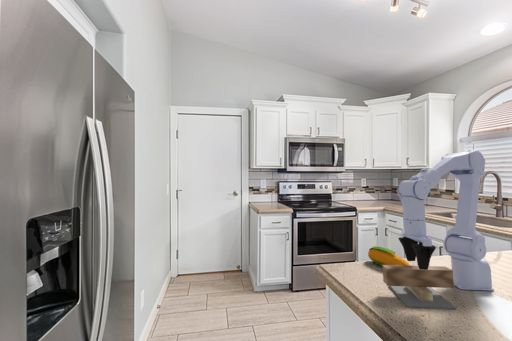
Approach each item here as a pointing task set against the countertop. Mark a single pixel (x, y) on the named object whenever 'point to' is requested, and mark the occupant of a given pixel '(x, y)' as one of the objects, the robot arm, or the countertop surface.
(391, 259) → the corn
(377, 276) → the countertop surface
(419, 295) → the ridge
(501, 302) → the countertop surface
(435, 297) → the board
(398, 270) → the brown wooden block
